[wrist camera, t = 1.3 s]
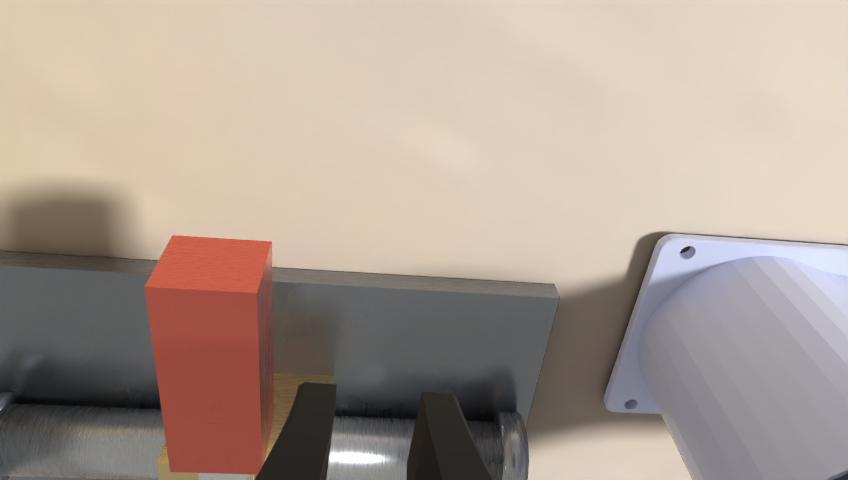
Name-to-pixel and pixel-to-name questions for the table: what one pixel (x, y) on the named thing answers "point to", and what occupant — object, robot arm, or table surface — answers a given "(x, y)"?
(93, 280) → the grey machine base
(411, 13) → the table surface
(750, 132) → the table surface
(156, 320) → the lever
